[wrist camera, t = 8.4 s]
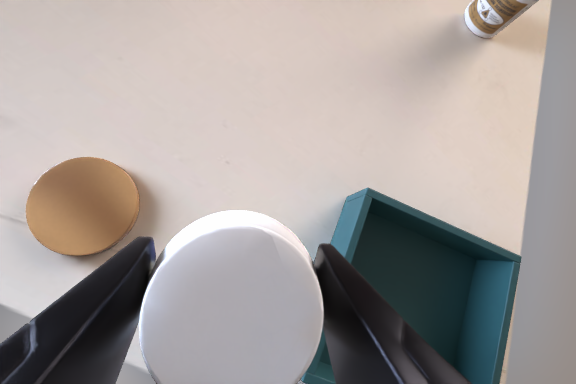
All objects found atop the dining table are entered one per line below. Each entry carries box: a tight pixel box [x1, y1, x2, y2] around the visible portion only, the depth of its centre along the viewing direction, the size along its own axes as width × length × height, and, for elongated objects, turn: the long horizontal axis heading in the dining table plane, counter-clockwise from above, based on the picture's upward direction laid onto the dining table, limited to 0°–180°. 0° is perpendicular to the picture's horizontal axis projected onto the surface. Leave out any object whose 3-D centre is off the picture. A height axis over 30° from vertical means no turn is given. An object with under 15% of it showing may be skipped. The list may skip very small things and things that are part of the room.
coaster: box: [26, 157, 140, 256], centre depth 20 cm, size 7×7×1 cm
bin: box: [301, 188, 521, 384], centre depth 21 cm, size 13×13×4 cm
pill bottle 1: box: [139, 210, 324, 384], centre depth 11 cm, size 5×5×10 cm
